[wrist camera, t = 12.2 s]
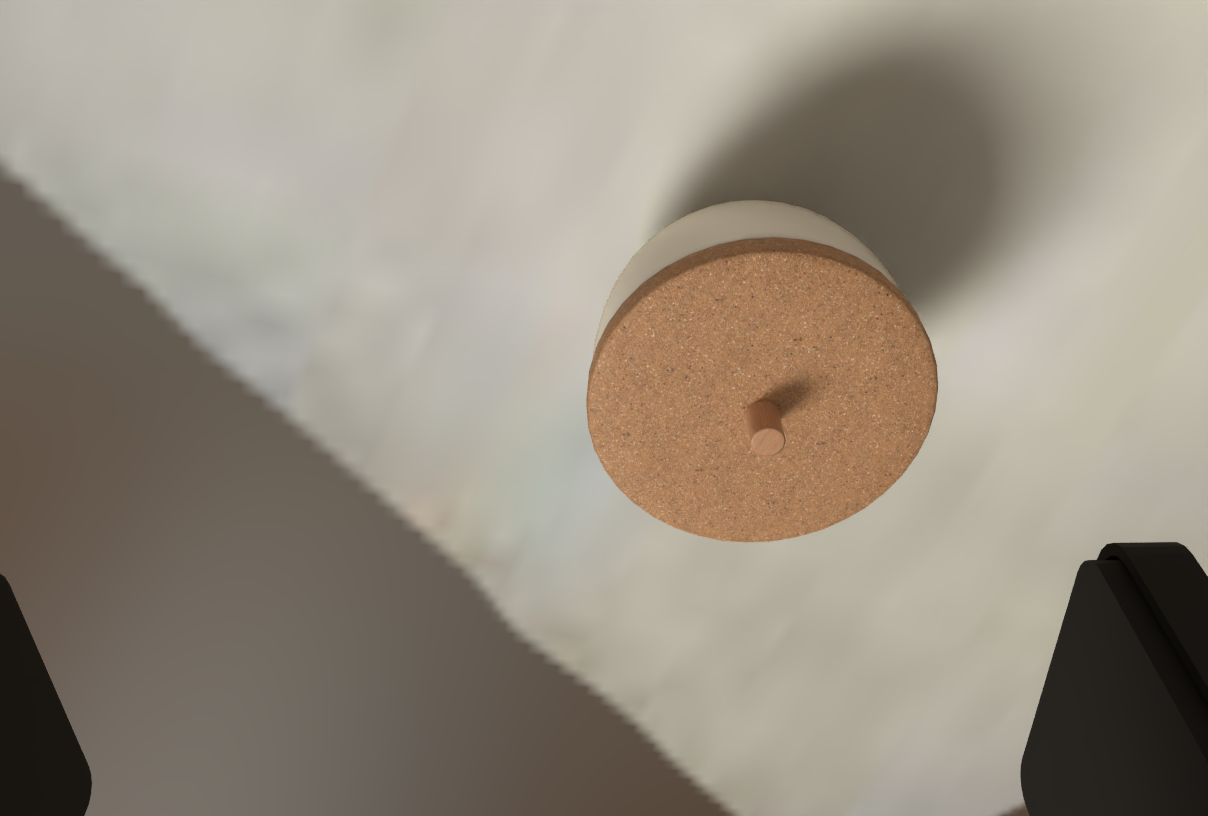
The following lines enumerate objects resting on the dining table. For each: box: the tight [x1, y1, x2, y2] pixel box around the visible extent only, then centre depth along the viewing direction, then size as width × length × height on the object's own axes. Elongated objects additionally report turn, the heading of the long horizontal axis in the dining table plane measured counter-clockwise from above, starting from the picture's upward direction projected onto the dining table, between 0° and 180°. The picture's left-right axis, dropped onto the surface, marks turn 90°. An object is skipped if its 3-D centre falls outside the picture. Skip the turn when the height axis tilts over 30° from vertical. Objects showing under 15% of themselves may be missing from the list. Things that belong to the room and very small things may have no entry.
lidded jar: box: [587, 200, 938, 542], centre depth 35 cm, size 11×11×9 cm
